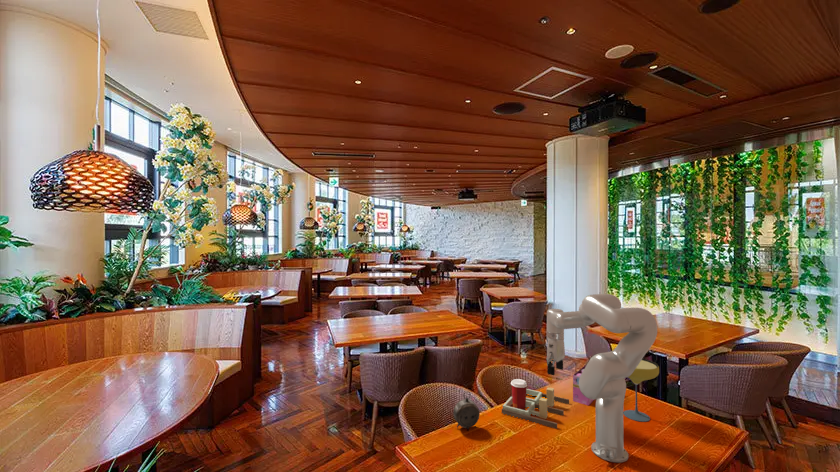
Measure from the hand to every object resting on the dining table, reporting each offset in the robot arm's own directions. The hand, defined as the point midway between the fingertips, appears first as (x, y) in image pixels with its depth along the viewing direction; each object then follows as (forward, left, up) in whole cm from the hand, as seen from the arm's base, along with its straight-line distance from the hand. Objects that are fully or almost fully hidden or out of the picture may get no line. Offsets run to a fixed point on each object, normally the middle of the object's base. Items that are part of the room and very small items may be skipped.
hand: (555, 371), depth 167 cm
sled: (-5, +12, -20) cm, 24 cm away
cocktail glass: (+20, -32, -21) cm, 43 cm away
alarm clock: (-34, +30, -21) cm, 50 cm away
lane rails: (+2, +9, -20) cm, 23 cm away
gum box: (+31, -10, -21) cm, 38 cm away
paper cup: (-5, +16, -21) cm, 26 cm away
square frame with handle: (+9, +12, -20) cm, 25 cm away
